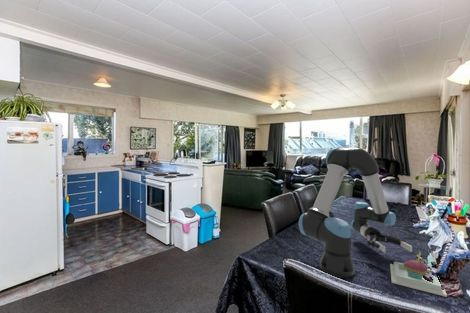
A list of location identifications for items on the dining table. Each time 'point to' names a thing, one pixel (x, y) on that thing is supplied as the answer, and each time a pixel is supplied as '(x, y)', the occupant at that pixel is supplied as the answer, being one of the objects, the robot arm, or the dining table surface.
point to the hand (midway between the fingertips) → (398, 249)
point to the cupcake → (415, 268)
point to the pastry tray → (414, 280)
